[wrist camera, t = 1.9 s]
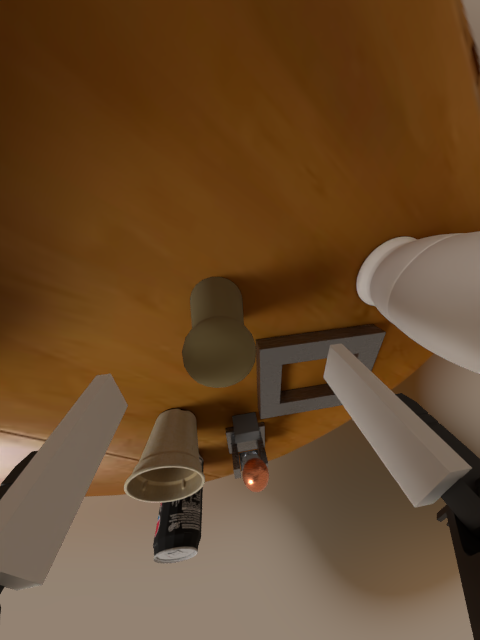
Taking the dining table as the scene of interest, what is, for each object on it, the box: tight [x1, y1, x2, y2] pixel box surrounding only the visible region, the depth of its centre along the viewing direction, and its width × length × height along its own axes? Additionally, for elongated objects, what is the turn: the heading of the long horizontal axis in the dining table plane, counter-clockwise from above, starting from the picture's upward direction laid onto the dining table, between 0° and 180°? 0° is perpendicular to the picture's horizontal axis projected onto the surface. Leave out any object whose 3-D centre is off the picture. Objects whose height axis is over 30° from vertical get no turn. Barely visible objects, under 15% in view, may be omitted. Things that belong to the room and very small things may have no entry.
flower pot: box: [124, 409, 205, 503], centre depth 26 cm, size 9×9×9 cm
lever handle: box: [239, 450, 269, 492], centre depth 26 cm, size 15×3×3 cm, turn 4°
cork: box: [182, 277, 256, 388], centre depth 16 cm, size 6×6×11 cm
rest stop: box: [232, 412, 260, 443], centre depth 31 cm, size 4×2×3 cm, turn 94°
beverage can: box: [153, 455, 203, 563], centre depth 31 cm, size 7×7×12 cm
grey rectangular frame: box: [256, 324, 386, 419], centre depth 28 cm, size 17×14×2 cm
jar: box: [356, 231, 480, 374], centre depth 16 cm, size 11×10×15 cm
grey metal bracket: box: [226, 422, 268, 478], centre depth 32 cm, size 7×7×6 cm
